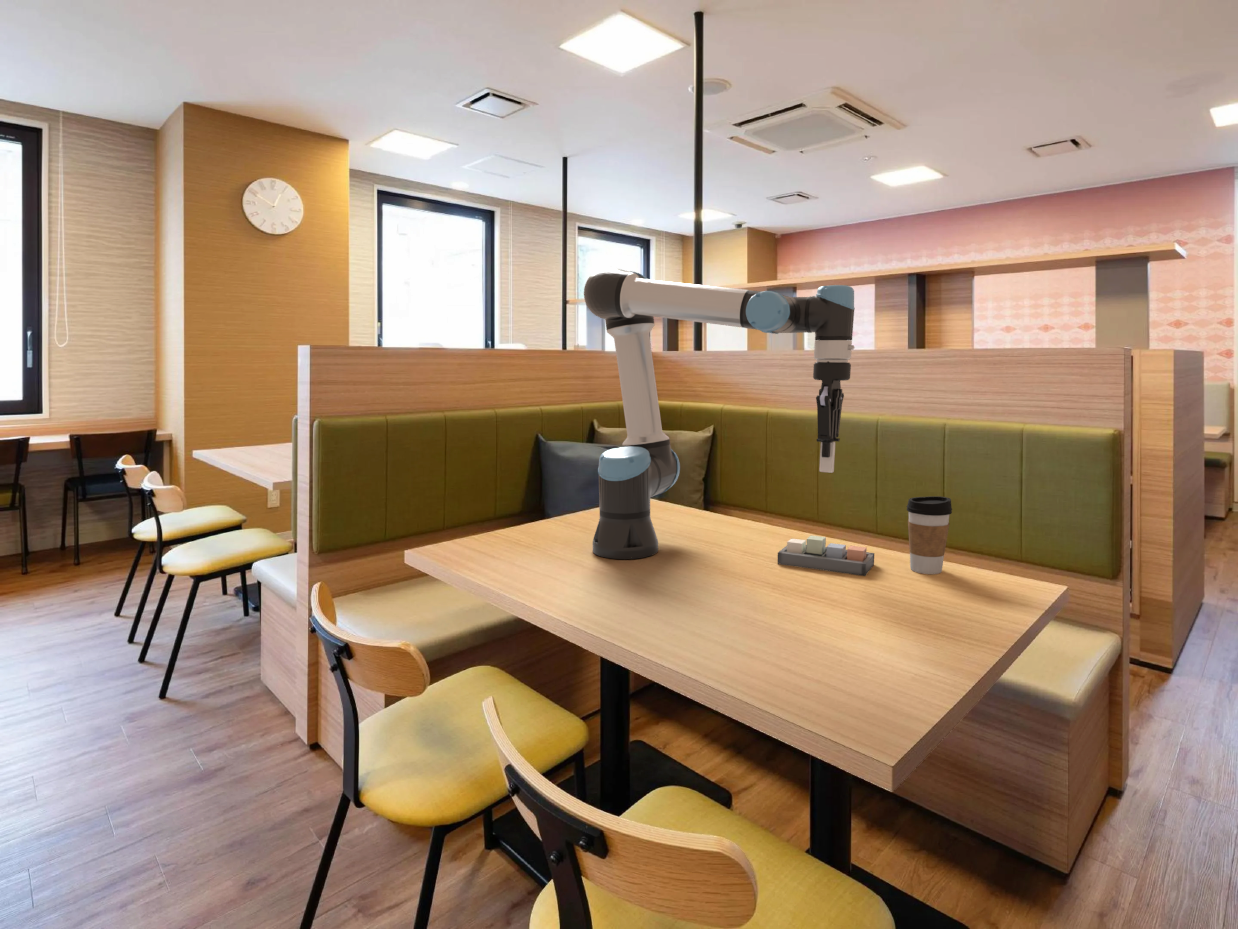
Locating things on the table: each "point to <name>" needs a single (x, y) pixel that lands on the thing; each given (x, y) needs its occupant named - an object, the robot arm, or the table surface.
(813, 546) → the key sage
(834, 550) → the key slate
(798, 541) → the key cream
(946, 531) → the coffee cup
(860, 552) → the key terracotta
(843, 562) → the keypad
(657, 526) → the table surface
